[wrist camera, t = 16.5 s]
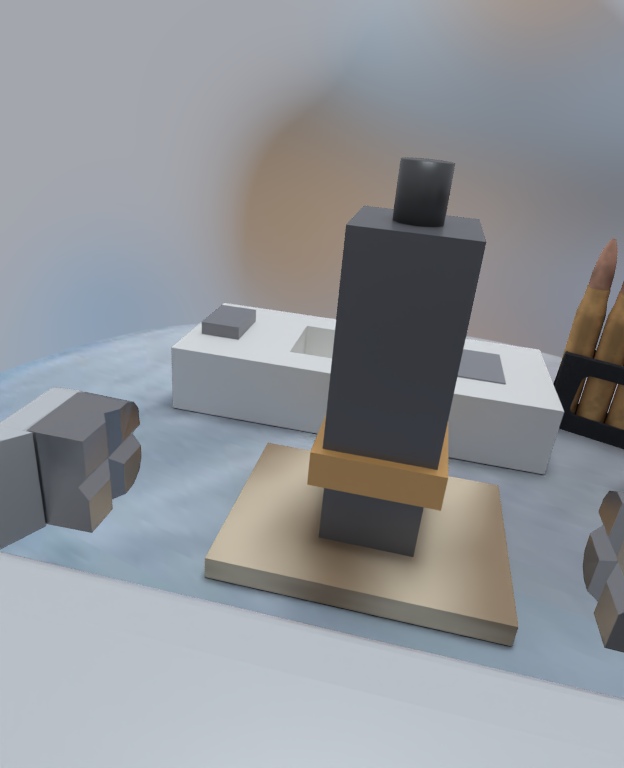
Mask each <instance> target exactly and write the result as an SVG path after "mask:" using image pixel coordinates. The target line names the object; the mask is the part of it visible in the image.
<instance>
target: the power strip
mask: <svg viewBox="0 0 624 768" xmlns="http://www.w3.org/2000/svg"><path fill="white" fill-rule="evenodd" d="M335 326H336V319H329V318H322V317H315V316H309V315H301V314H295V313H288V312H282V311H275V310H268V309H262V308H255V307H248V306H241V305H235V304H228V303H224V304H223V305H221V306H220V307H219V308H218V309H216V310H215V311H214V312H213V313H212V314H210V315H209V316H208V317H207V318H206V319H205V320H203V321H202V322H201V323H200V324H199V325H197V326H196V327H195V328H194V329H193V330H191V331H190V332H189V333H188V334H187V335H185V336H184V337H183V338H182V339H181V340H180V341H178V342H177V343H176V344H175V345H174V346H172V347H171V354H172V390H173V408H178V409H183V410H189V411H195V412H200V413H206V414H211V415H217V416H222V417H228V418H233V419H239V420H245V421H250V422H256V423H261V424H267V425H272V426H278V427H283V428H289V429H294V430H300V431H306V432H311V433H317V434H318V432H319V430H320V427H321V425H322V422H323V420H324V417H325V415H326V411H327V402H328V392H329V383H330V373H331V364H332V354H333V345H334V336H335ZM563 414H564V410H563V407H562V405H561V402H560V400H559V397H558V395H557V392H556V390H555V387H554V385H553V382H552V380H551V377H550V375H549V372H548V370H547V367H546V365H545V362H544V360H543V357H542V355H541V352H540V350H538V349H531V348H524V347H518V346H511V345H504V344H497V343H491V342H484V341H477V340H470V339H465V344H464V348H463V353H462V358H461V362H460V367H459V372H458V376H457V381H456V386H455V390H454V395H453V400H452V405H451V409H450V414H449V419H448V457H450V458H455V459H461V460H466V461H472V462H478V463H483V464H489V465H494V466H500V467H505V468H511V469H516V470H522V471H528V472H533V473H539V474H544V475H545V471H546V468H547V465H548V462H549V459H550V455H551V452H552V449H553V446H554V443H555V439H556V436H557V433H558V430H559V427H560V423H561V420H562V417H563Z"/></svg>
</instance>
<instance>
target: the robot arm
mask: <svg viewBox="0 0 624 768" xmlns="http://www.w3.org/2000/svg"><path fill="white" fill-rule="evenodd" d="M139 425H140V421H139V410H138V407H137V406H136V404H135V403H134V402H132V401H127V400H122V399H117V398H112V397H107V396H103V395H98V394H93V393H88V392H82V391H80V390H74V389H67V388H61V387H53V388H51V389H50V390H48V391H47V392H45V393H44V394H42V395H41V396H39V397H38V398H36V399H35V400H33V401H32V402H30V403H29V404H27V405H26V406H24V407H23V408H21V409H20V410H18V411H17V412H15V413H14V414H13V415H11V416H10V417H8V418H7V419H5V420H4V421H2V422H1V423H0V549H2V548H4V547H6V546H8V545H10V544H12V543H14V542H16V541H18V540H20V539H22V538H24V537H26V536H28V535H30V534H32V533H33V532H35V531H37V530H39V529H41V528H43V527H45V526H46V524H49V525H55V526H60V527H65V528H70V529H75V530H80V531H86V532H91V533H92V532H93V531H94V530H95V529H96V528H97V526H98V525H99V524H100V523H101V522H102V521H103V519H104V518H105V517H106V516H107V515H108V514H109V513H110V511H111V510H112V509H113V508H112V499H114V498H116V497H119V496H121V495H124V494H126V493H127V491H128V490H129V489H130V488H131V486H132V485H133V484H134V482H135V479H136V477H137V474H138V472H139V469H140V462H141V445H140V443H139V442H138V440H137V439H136V438H135V436H134V435H133V432H134V431H135V429H136V428H137V427H138V426H139ZM599 514H600V517H601V519H602V522H603V526H601V527H600V528H598V529H597V530H595V531H594V532H592V533H590V536H589V539H588V542H587V545H586V548H585V552H584V561H583V574H584V581H585V585H586V588H587V591H588V592H589V593H590V594H591V595H592V596H593V597H594V598H595V599H596V600H597V601H598V604H597V606H596V609H595V611H594V615H595V618H596V622H597V625H598V628H599V631H600V635H601V638H602V641H603V644H604V648H608V649H612V650H616V651H620V652H624V493H622V492H615V491H609V492H608V494H607V495H606V496H605V498H604V499H603V502H602V504H601V507H600V509H599ZM0 768H624V699H623V698H619V697H615V696H610V695H606V694H602V693H598V692H593V691H589V690H585V689H581V688H576V687H572V686H568V685H564V684H559V683H555V682H551V681H547V680H542V679H538V678H534V677H530V676H525V675H521V674H517V673H513V672H508V671H504V670H500V669H496V668H491V667H487V666H483V665H479V664H474V663H470V662H466V661H462V660H457V659H453V658H449V657H445V656H440V655H436V654H432V653H428V652H423V651H419V650H415V649H411V648H406V647H402V646H398V645H394V644H390V643H385V642H381V641H377V640H373V639H368V638H364V637H360V636H356V635H351V634H347V633H343V632H339V631H334V630H330V629H326V628H322V627H317V626H313V625H309V624H305V623H301V622H296V621H292V620H288V619H284V618H279V617H275V616H271V615H267V614H262V613H258V612H254V611H250V610H245V609H241V608H237V607H233V606H228V605H224V604H220V603H216V602H212V601H207V600H203V599H199V598H195V597H190V596H186V595H182V594H178V593H173V592H169V591H165V590H161V589H156V588H152V587H148V586H144V585H139V584H135V583H131V582H127V581H123V580H118V579H114V578H110V577H106V576H101V575H97V574H93V573H89V572H84V571H80V570H76V569H72V568H67V567H63V566H59V565H55V564H51V563H46V562H42V561H38V560H34V559H29V558H25V557H21V556H17V555H12V554H8V553H4V552H0Z"/></svg>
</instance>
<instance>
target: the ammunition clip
mask: <svg viewBox="0 0 624 768" xmlns="http://www.w3.org/2000/svg"><path fill="white" fill-rule="evenodd" d="M616 263H617V242H616V239H612V240H611V241H610V242H609V243H608V244H607V245H606V247H605V248H604V250H603V252H602V253H601V255H600V257H599V259H598V261H597V263H596V265H595V267H594V270H593V272H592V275H591V279H590V282H589V285H588V286H587V289H586V292H585V295H584V298H583V299H582V301H581V303H580V305H579V307H578V309H577V312H576V315H575V318H574V321H573V325H572V328H571V331H570V334H569V338H568V341H567V344H566V348H565V351H564V354H563V358H562V361H561V364H560V367H559V370H558V373H557V376H556V378H555V381H554V384H553V385H554V387H555V390H556V392H557V395H558V397H559V400H560V402H561V405H562V407H563V410H564V414H563V417H562V420H561V423H560V427H559V429H562V430H566V431H569V432H572V433H575V434H578V435H581V436H584V437H588V438H591V439H594V440H597V441H600V442H603V443H606V444H609V445H613V446H616V447H619V448H622V449H624V282H623V285H622V288H621V291H620V292H619V295H618V297H617V300H616V303H615V305H614V306H613V308H612V310H611V312H610V314H609V315H608V318H607V321H606V324H605V327H604V330H603V333H602V336H601V339H600V342H599V345H598V348H597V350H595V348H596V345H597V342H598V339H599V336H600V333H601V329H602V326H603V322H604V320H605V316H606V308H607V301H608V297H609V294H610V288H611V285H612V281H613V278H614V274H615V268H616ZM586 377H588V378H587V381H586V384H585V387H584V383H585V380H586ZM617 384H618V387H617V389H616V392H615V395H614V398H613V401H612V403H611V400H612V397H613V394H614V391H615V388H616V386H617ZM583 387H584V390H583ZM582 390H583V393H582ZM581 393H582V396H581ZM580 396H581V399H580ZM579 399H580V402H579ZM578 402H579V404H578ZM610 403H611V406H610ZM609 406H610V409H609ZM608 409H609V412H608ZM607 412H608V413H607Z"/></svg>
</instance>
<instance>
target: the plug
mask: <svg viewBox="0 0 624 768" xmlns="http://www.w3.org/2000/svg"><path fill="white" fill-rule="evenodd" d="M454 167H455V163H452V162H447V161H441V160H433V159H424V158H408V157H407V158H406V157H405V158H401V161H400V169H399V175H398V182H397V189H396V197H395V204H394V209H387V208H379V207H370V206H363V208H361V209H360V211H359V212H358V213H357V214H356V215H355V216H354V217H353V218H352V219H351V220H350V221H349V222H348V223H347V225H346V232H345V241H344V250H343V260H342V269H341V280H340V289H339V298H338V307H337V317H336V326H335V336H334V345H333V354H332V364H331V373H330V383H329V392H328V402H327V411H326V415H325V417H324V420H323V422H322V425H321V427H320V430H319V432H318V435H317V437H316V439H315V442H314V444H313V447H312V449H311V452H310V460H309V470H308V481H307V485H312V486H317V487H322V488H324V493H323V502H322V511H321V520H320V529H319V538H324V539H329V540H333V541H338V542H343V543H348V544H353V545H357V546H362V547H367V548H372V549H376V550H381V551H386V552H391V553H395V554H400V555H405V556H410V557H413V556H414V552H415V547H416V542H417V537H418V532H419V528H420V523H421V518H422V513H423V508H429V509H434V510H439V511H441V509H442V504H443V500H444V495H445V491H446V486H447V482H448V419H449V414H450V409H451V405H452V400H453V395H454V390H455V386H456V381H457V376H458V372H459V367H460V362H461V358H462V353H463V348H464V344H465V339H466V334H467V330H468V325H469V320H470V315H471V311H472V306H473V301H474V297H475V292H476V287H477V283H478V278H479V273H480V268H481V264H482V259H483V254H484V250H485V245H486V240H485V236H484V233H483V230H482V227H481V223H480V220H479V219H471V218H464V217H463V218H462V217H455V216H446V211H447V206H448V200H449V195H450V189H451V184H452V178H453V173H454Z"/></svg>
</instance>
